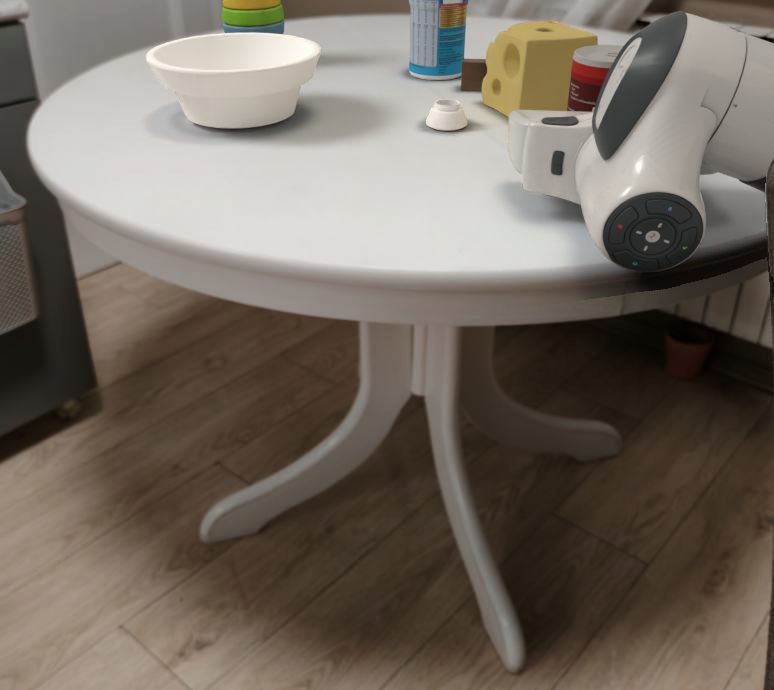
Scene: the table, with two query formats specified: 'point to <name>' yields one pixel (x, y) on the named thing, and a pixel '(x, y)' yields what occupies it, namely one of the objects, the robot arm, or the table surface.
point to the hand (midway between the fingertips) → (605, 115)
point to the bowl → (236, 76)
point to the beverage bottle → (437, 38)
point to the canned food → (589, 75)
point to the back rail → (473, 74)
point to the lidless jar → (446, 115)
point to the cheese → (532, 66)
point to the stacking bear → (253, 16)
